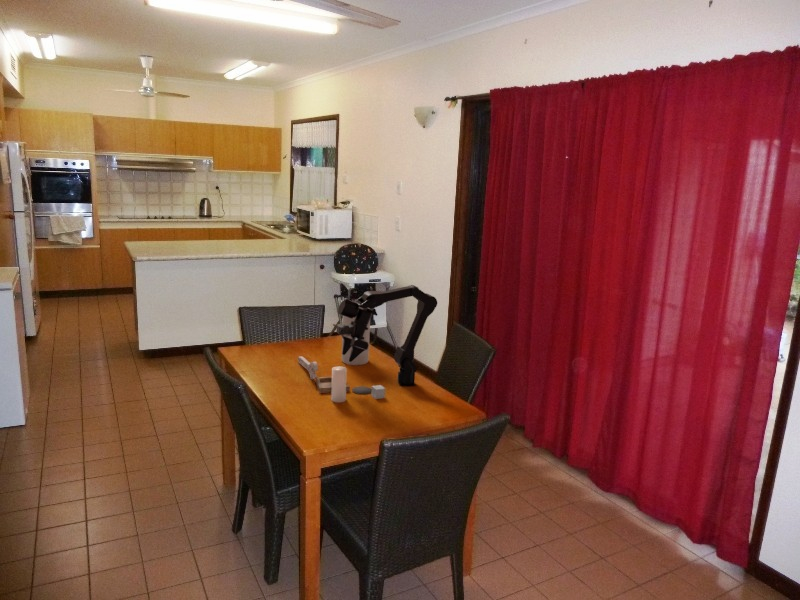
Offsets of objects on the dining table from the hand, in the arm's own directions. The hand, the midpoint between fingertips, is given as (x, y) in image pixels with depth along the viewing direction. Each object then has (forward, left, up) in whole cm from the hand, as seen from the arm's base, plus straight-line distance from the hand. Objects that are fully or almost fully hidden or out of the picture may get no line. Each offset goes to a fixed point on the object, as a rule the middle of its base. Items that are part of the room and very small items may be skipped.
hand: (346, 357), depth 231 cm
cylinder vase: (-5, -35, -13) cm, 38 cm away
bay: (+5, -2, -13) cm, 14 cm away
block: (-13, +8, -13) cm, 20 cm away
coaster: (-7, +2, -13) cm, 15 cm away
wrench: (+16, -19, -13) cm, 29 cm away
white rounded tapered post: (+3, +11, -13) cm, 17 cm away
